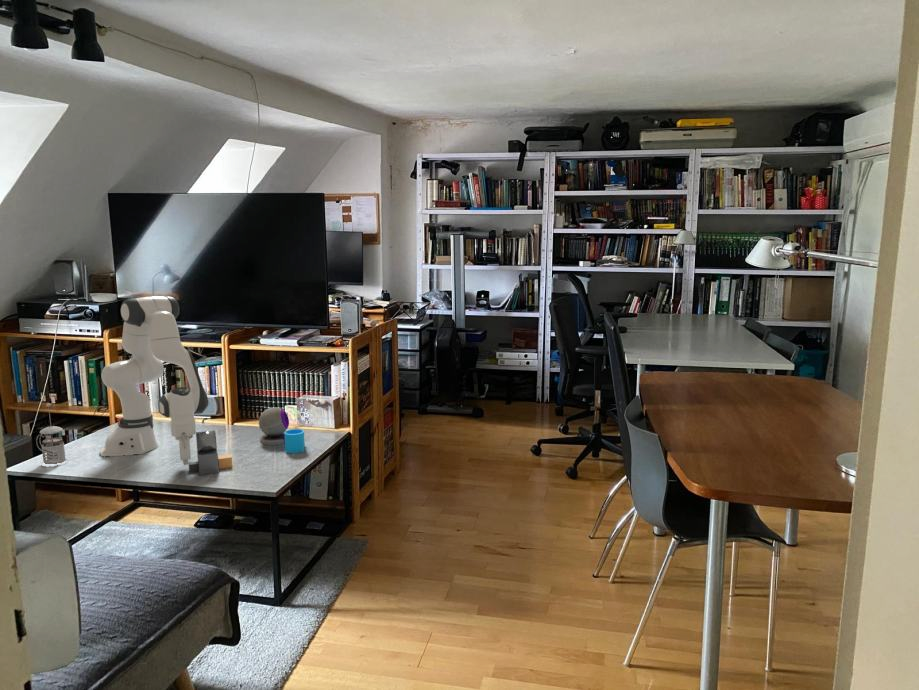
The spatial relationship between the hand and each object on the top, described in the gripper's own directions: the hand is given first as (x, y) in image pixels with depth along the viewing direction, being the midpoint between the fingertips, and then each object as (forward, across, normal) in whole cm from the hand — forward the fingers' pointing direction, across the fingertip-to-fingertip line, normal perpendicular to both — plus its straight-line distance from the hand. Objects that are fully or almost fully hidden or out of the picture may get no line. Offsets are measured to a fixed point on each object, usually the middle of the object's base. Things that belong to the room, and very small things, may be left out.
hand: (185, 463), depth 268 cm
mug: (+3, +10, -44) cm, 46 cm away
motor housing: (+3, 0, -8) cm, 9 cm away
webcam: (+3, +26, -37) cm, 46 cm away
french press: (+4, +31, +50) cm, 59 cm away
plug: (+3, 0, -9) cm, 10 cm away
